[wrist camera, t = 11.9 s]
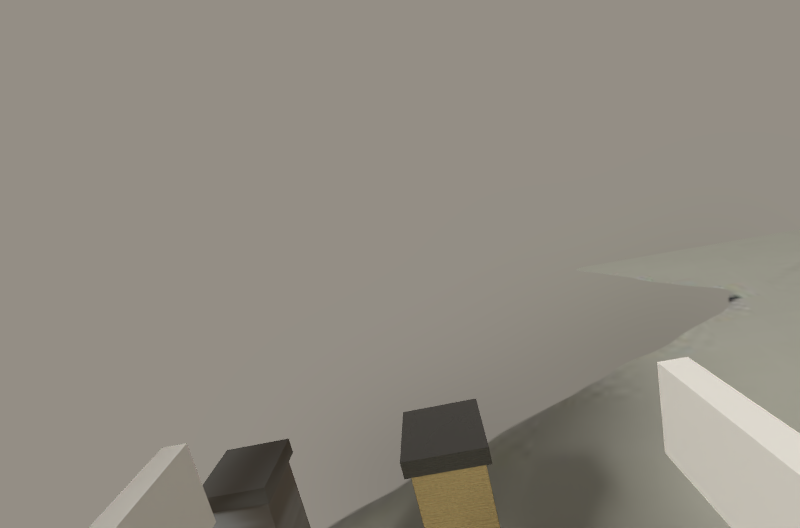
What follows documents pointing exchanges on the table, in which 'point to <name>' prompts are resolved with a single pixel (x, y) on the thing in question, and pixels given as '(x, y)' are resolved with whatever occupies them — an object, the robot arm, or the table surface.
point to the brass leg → (449, 466)
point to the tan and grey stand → (256, 489)
